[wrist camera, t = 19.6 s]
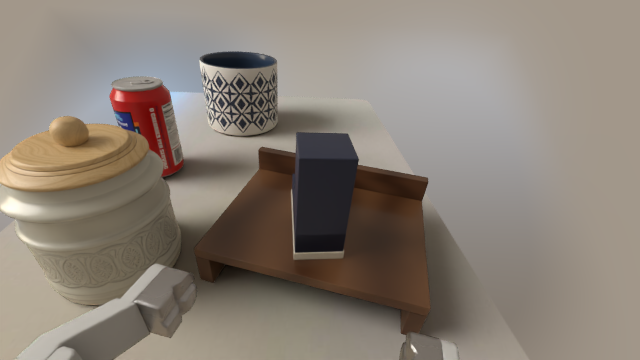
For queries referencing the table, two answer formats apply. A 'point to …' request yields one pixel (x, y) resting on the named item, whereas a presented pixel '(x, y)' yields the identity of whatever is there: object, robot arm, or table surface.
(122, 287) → the jar
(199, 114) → the table surface
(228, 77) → the planter
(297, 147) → the navy stepped block
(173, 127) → the soda can
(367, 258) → the wooden display stand
